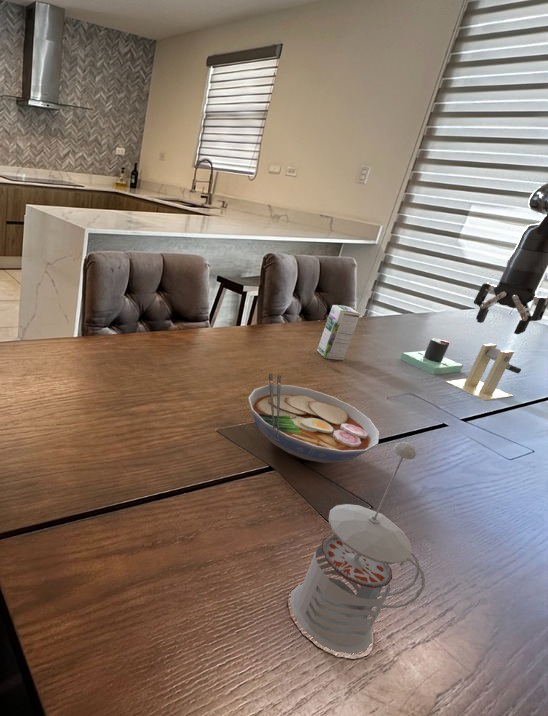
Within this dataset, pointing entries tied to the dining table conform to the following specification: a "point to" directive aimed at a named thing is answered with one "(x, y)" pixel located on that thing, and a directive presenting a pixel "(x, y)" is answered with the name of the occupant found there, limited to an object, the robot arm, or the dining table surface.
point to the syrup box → (338, 332)
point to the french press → (353, 574)
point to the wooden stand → (488, 387)
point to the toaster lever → (493, 355)
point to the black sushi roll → (436, 350)
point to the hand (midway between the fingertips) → (497, 327)
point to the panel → (431, 363)
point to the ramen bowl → (311, 423)
